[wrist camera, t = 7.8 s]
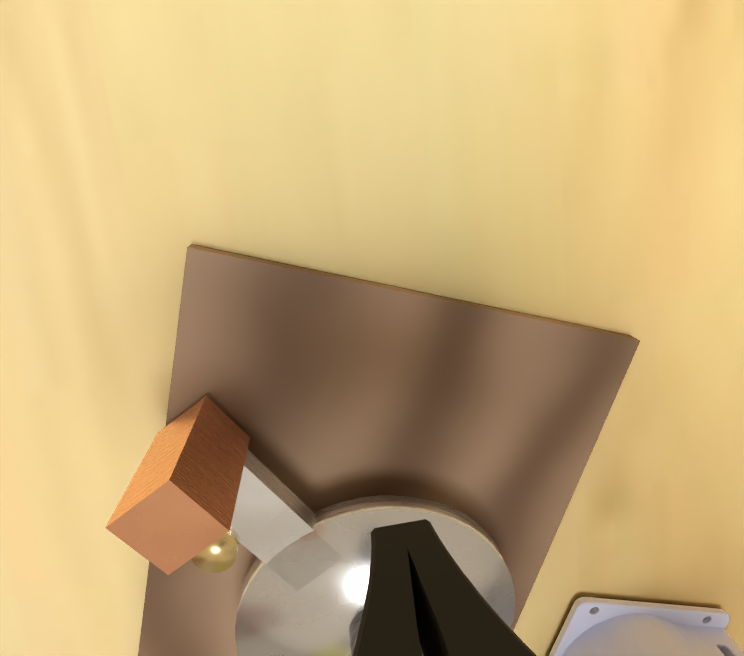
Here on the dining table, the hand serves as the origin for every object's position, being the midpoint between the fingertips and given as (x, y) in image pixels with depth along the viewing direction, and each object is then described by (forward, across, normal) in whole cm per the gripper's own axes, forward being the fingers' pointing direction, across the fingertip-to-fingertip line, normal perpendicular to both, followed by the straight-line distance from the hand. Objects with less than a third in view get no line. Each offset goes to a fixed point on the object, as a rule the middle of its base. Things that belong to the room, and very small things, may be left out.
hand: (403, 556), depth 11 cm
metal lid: (+8, +2, +7) cm, 11 cm away
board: (+9, +1, +7) cm, 11 cm away
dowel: (+9, +6, +4) cm, 12 cm away
